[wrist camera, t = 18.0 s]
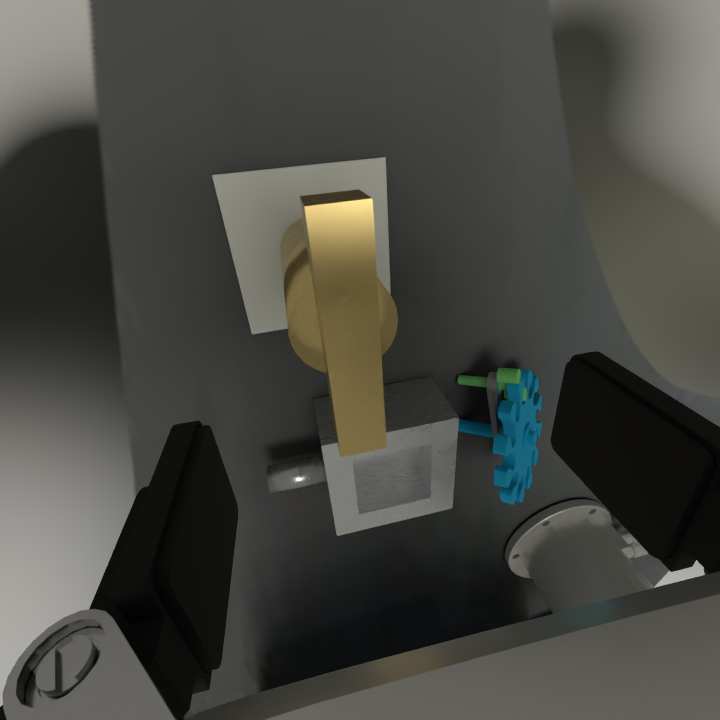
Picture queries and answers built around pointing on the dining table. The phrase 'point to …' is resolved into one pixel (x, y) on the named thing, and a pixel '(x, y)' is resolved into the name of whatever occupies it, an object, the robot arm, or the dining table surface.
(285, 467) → the block
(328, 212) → the door handle
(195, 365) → the dining table surface
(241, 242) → the mat
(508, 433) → the gear
